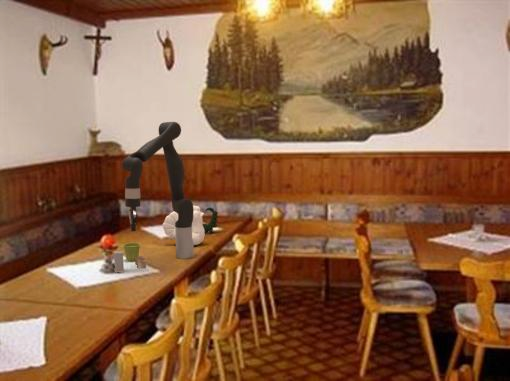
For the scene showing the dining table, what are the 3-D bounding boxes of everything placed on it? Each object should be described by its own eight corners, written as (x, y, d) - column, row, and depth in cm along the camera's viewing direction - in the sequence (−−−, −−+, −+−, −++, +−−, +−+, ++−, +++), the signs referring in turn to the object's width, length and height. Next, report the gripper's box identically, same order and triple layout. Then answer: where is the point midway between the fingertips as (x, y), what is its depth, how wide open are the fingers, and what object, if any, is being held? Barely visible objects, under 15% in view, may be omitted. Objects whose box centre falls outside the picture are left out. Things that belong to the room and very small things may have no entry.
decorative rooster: (207, 242, 343) (206, 203, 340) (200, 248, 327) (199, 207, 324) (169, 241, 347) (168, 203, 344) (160, 247, 332) (159, 206, 329)
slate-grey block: (122, 270, 279) (121, 251, 277) (123, 272, 275) (123, 252, 274) (114, 271, 277) (113, 251, 276) (115, 273, 273) (114, 253, 272)
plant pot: (136, 262, 294) (136, 246, 293) (120, 261, 296) (119, 246, 295) (143, 258, 304) (143, 243, 303) (127, 257, 305) (127, 242, 304)
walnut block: (146, 267, 283) (142, 263, 292) (146, 260, 282) (142, 256, 292) (138, 268, 281) (135, 264, 291) (138, 261, 281) (135, 256, 290)
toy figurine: (217, 234, 378) (182, 230, 381) (219, 207, 376) (183, 203, 378) (215, 237, 369) (178, 233, 371) (216, 209, 366) (180, 205, 369)
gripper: (142, 198, 271) (142, 232, 273) (138, 195, 284) (138, 228, 285) (127, 198, 269) (127, 233, 271) (123, 196, 281) (124, 229, 283)
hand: (133, 231), depth 278 cm, fingers closed
